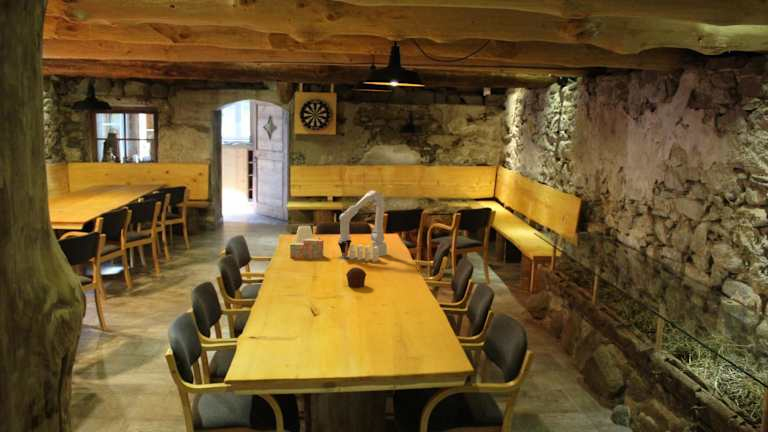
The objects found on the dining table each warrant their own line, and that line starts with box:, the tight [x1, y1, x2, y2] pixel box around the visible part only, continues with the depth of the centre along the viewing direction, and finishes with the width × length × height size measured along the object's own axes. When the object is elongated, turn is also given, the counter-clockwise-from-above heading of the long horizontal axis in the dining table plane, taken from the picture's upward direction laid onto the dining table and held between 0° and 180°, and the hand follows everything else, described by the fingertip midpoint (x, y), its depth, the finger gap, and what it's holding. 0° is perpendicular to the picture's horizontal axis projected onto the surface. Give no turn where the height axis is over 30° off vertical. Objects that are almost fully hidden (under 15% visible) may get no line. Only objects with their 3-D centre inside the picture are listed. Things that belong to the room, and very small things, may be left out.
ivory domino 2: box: [356, 244, 364, 261], centre depth 398 cm, size 2×5×9 cm, turn 157°
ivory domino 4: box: [372, 246, 379, 263], centre depth 394 cm, size 2×5×9 cm, turn 157°
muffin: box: [345, 267, 367, 289], centre depth 338 cm, size 12×11×10 cm
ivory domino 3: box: [364, 245, 372, 262], centre depth 396 cm, size 2×5×9 cm, turn 158°
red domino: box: [341, 242, 349, 257], centre depth 402 cm, size 2×5×9 cm, turn 157°
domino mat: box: [337, 255, 380, 263], centre depth 399 cm, size 28×8×1 cm, turn 67°
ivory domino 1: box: [348, 243, 356, 259], centre depth 400 cm, size 2×5×9 cm, turn 157°
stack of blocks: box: [289, 238, 324, 260], centre depth 405 cm, size 21×6×12 cm, turn 85°
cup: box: [294, 225, 315, 243], centre depth 440 cm, size 13×13×14 cm
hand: (344, 251), depth 402 cm, fingers closed on red domino, 5 cm apart
